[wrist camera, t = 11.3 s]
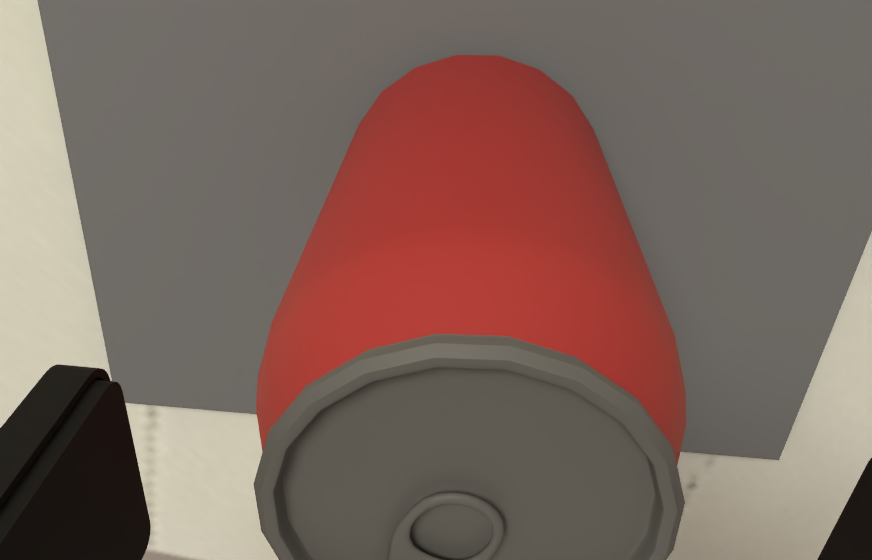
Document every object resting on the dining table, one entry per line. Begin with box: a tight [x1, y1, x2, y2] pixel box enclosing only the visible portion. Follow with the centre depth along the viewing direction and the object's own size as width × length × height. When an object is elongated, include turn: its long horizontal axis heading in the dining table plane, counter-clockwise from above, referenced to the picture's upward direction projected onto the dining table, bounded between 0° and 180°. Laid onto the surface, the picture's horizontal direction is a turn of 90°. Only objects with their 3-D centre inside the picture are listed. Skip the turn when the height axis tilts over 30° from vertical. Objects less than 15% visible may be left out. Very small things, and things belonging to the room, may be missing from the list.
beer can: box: [254, 55, 686, 560], centre depth 15 cm, size 7×7×12 cm
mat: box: [38, 0, 872, 460], centre depth 20 cm, size 22×18×1 cm
